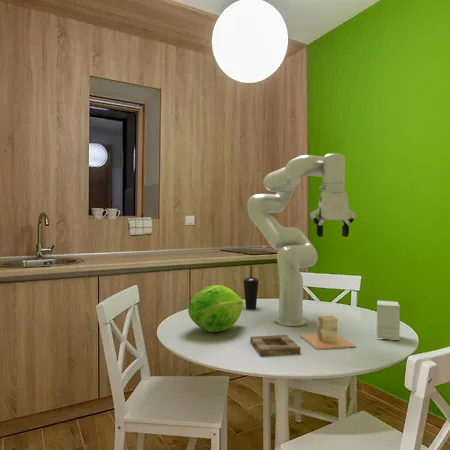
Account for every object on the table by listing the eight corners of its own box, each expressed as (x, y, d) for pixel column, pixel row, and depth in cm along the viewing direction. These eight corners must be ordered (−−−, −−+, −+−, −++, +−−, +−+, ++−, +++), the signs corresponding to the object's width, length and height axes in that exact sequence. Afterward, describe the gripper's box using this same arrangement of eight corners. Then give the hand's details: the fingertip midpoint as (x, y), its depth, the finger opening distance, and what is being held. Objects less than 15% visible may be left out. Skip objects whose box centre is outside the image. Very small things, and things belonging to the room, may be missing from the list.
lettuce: (259, 330, 146) (260, 285, 146) (204, 343, 131) (205, 293, 131) (229, 319, 161) (229, 279, 161) (176, 330, 146) (177, 285, 145)
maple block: (317, 338, 136) (317, 315, 136) (330, 337, 137) (330, 315, 137) (323, 342, 131) (323, 319, 131) (336, 342, 132) (337, 318, 132)
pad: (300, 336, 140) (300, 334, 140) (336, 334, 142) (336, 333, 142) (316, 349, 126) (316, 348, 126) (355, 347, 128) (355, 345, 128)
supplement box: (397, 335, 142) (398, 301, 141) (399, 341, 135) (400, 305, 134) (376, 333, 144) (376, 299, 144) (376, 339, 137) (377, 304, 137)
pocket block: (250, 342, 133) (250, 336, 132) (286, 340, 135) (286, 334, 135) (260, 356, 120) (260, 349, 120) (300, 353, 122) (300, 347, 122)
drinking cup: (240, 306, 184) (240, 265, 184) (255, 305, 186) (255, 264, 186) (245, 310, 177) (246, 267, 176) (261, 309, 179) (261, 266, 179)
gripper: (315, 187, 133) (314, 237, 133) (361, 188, 136) (360, 237, 137) (306, 189, 140) (305, 236, 141) (350, 190, 144) (349, 236, 144)
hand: (332, 236), depth 139 cm, fingers open, 9 cm apart
